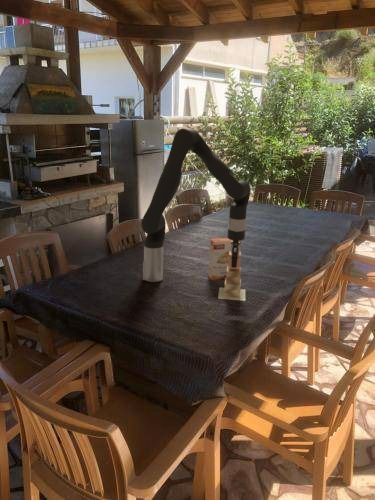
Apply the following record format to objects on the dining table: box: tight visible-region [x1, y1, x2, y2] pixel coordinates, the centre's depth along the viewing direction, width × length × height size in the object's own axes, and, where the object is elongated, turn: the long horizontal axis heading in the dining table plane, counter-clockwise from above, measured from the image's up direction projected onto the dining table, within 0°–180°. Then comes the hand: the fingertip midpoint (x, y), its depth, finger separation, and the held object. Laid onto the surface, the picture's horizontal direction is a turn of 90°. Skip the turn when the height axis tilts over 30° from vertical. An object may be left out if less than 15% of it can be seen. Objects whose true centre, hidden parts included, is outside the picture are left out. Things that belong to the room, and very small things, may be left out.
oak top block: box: [226, 266, 242, 285], centre depth 184 cm, size 6×6×6 cm
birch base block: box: [223, 278, 242, 298], centre depth 186 cm, size 7×7×6 cm
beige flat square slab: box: [217, 287, 246, 302], centre depth 187 cm, size 12×12×2 cm
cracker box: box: [207, 237, 242, 281], centre depth 203 cm, size 14×6×21 cm, turn 105°
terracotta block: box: [228, 251, 242, 269], centre depth 182 cm, size 5×5×6 cm
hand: (234, 264), depth 182 cm, fingers closed on terracotta block, 4 cm apart
